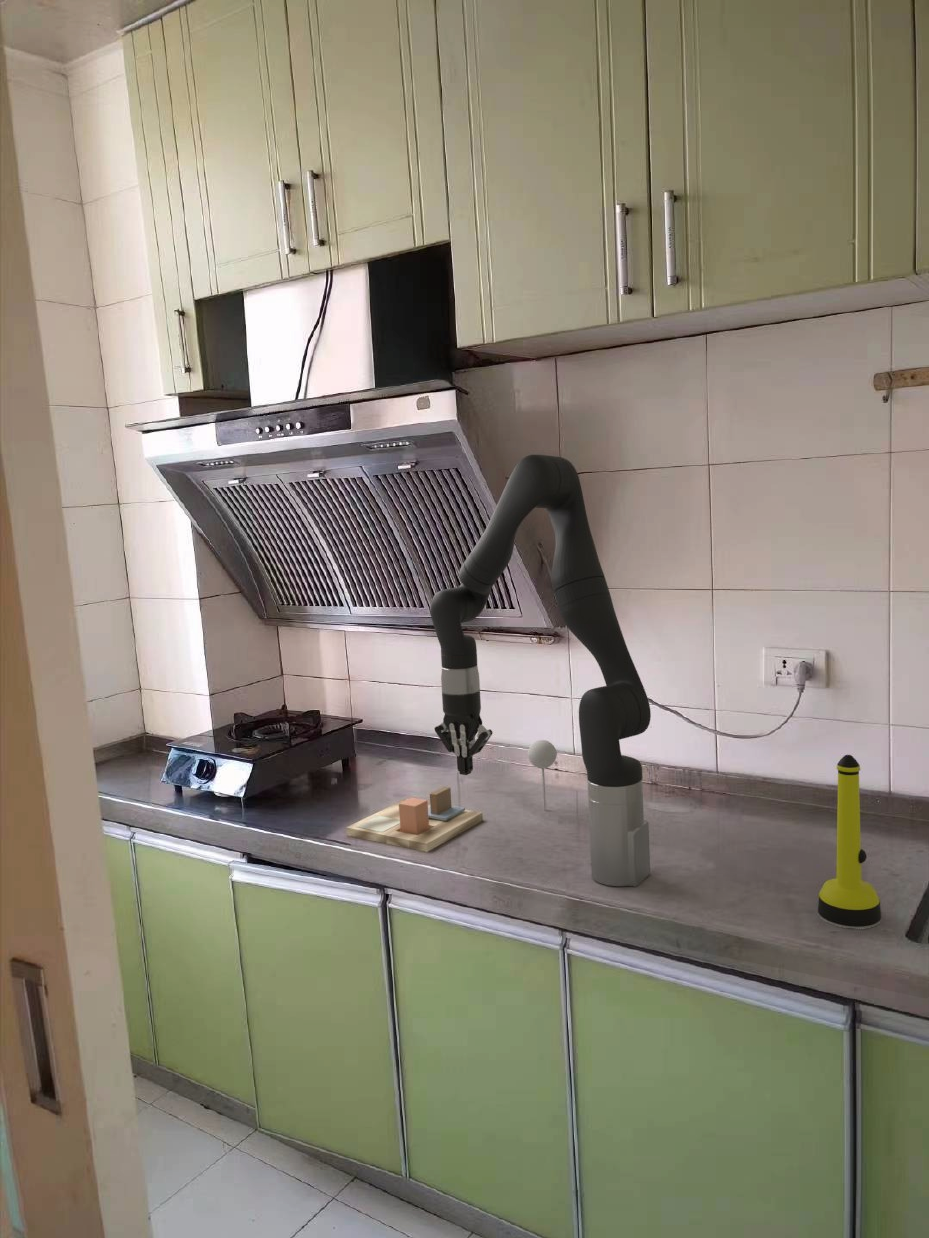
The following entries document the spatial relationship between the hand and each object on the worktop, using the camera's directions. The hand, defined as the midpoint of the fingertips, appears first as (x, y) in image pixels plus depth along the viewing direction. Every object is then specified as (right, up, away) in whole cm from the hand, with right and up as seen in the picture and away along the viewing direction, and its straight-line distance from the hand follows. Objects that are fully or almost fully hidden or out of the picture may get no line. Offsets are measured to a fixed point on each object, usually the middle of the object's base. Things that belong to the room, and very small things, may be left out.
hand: (465, 773), depth 187 cm
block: (-10, -12, -3) cm, 16 cm away
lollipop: (+17, -9, +9) cm, 21 cm away
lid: (-5, -9, +5) cm, 11 cm away
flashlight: (+58, -14, -45) cm, 75 cm away
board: (-10, -12, +2) cm, 16 cm away
